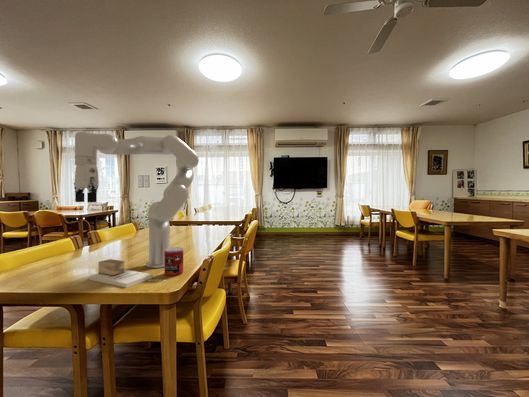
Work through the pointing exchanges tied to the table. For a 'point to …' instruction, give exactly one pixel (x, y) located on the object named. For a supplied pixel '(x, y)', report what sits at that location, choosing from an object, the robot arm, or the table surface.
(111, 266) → the block
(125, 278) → the board
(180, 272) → the canned food
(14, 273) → the table surface
